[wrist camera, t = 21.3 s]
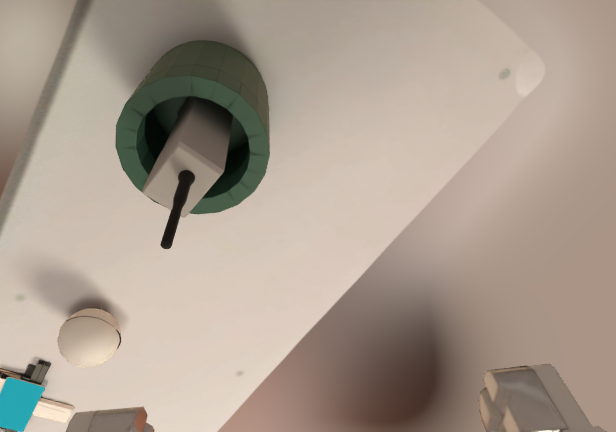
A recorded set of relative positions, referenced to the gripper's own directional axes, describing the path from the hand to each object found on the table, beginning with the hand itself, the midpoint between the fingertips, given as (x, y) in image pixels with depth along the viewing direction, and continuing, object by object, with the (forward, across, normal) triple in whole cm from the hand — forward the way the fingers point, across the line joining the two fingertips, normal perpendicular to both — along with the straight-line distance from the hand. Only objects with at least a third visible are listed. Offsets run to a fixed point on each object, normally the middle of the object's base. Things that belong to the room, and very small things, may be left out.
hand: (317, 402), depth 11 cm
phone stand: (+40, +43, +50) cm, 77 cm away
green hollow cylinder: (+40, +8, +6) cm, 42 cm away
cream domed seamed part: (+40, +27, +33) cm, 59 cm away
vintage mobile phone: (+40, +8, +6) cm, 41 cm away
